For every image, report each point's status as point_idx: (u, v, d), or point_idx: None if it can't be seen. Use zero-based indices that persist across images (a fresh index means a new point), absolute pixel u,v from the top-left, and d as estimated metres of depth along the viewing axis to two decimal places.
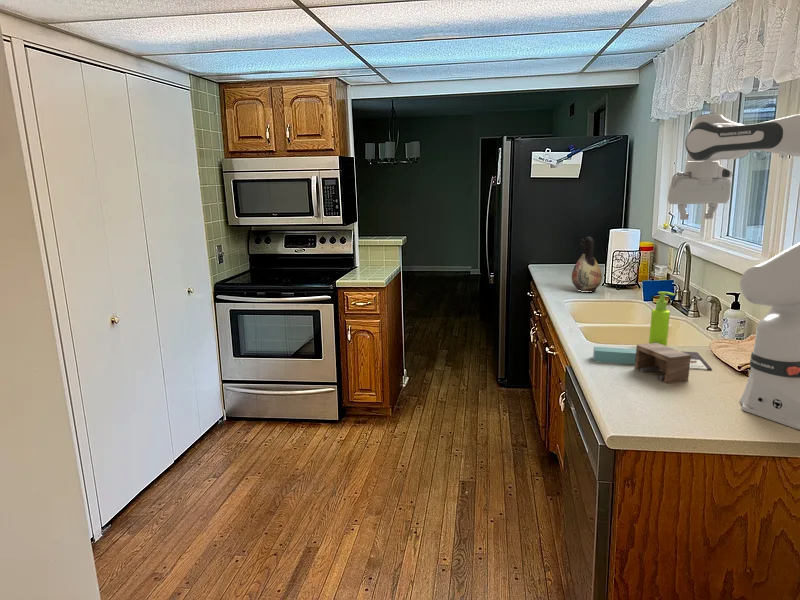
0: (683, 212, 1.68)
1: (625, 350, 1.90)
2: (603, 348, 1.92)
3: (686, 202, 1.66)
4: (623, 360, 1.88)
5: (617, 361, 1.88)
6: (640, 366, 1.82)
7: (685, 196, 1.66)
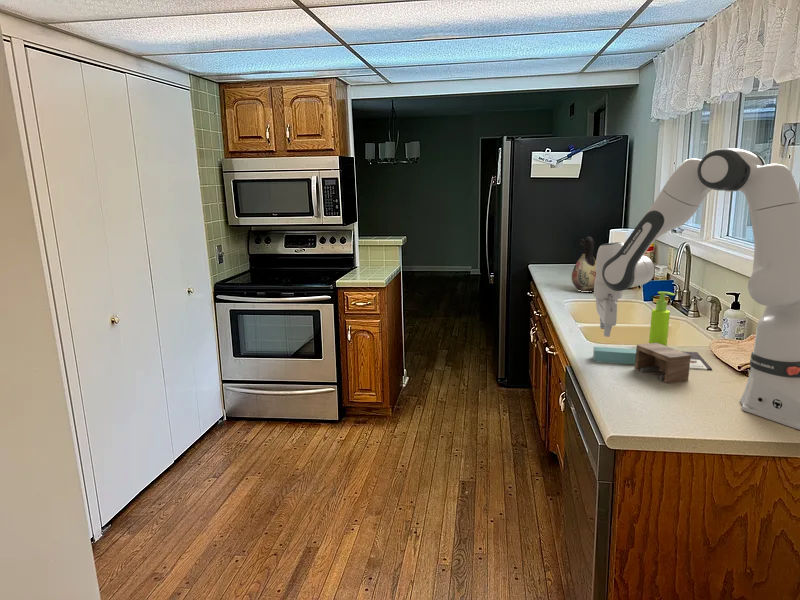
0: (609, 330, 1.84)
1: (625, 350, 1.90)
2: (603, 348, 1.92)
3: None
4: (622, 360, 1.88)
5: (617, 361, 1.88)
6: (640, 366, 1.82)
7: None
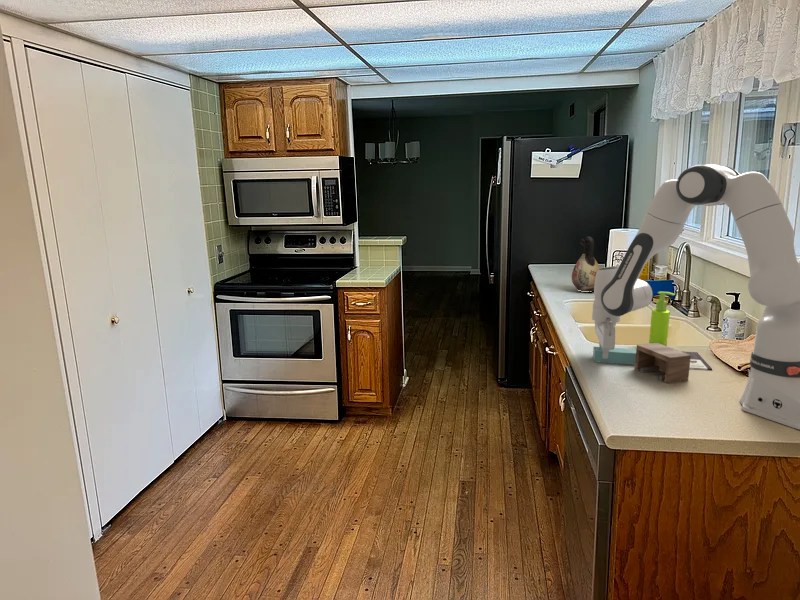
0: (607, 352, 1.87)
1: (625, 350, 1.90)
2: None
3: None
4: (622, 360, 1.88)
5: (617, 361, 1.88)
6: (640, 366, 1.82)
7: None
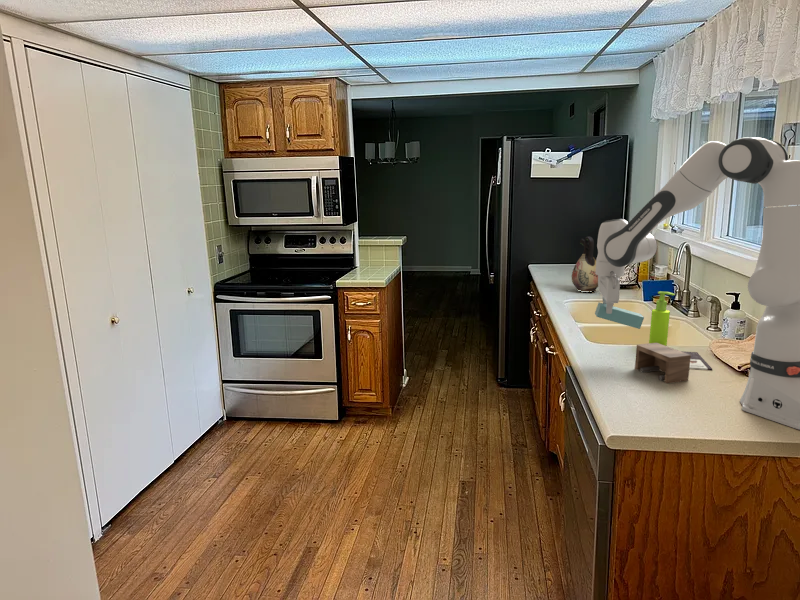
0: (611, 307, 1.83)
1: (629, 312, 1.87)
2: None
3: None
4: (625, 320, 1.85)
5: (619, 320, 1.85)
6: (640, 366, 1.82)
7: None
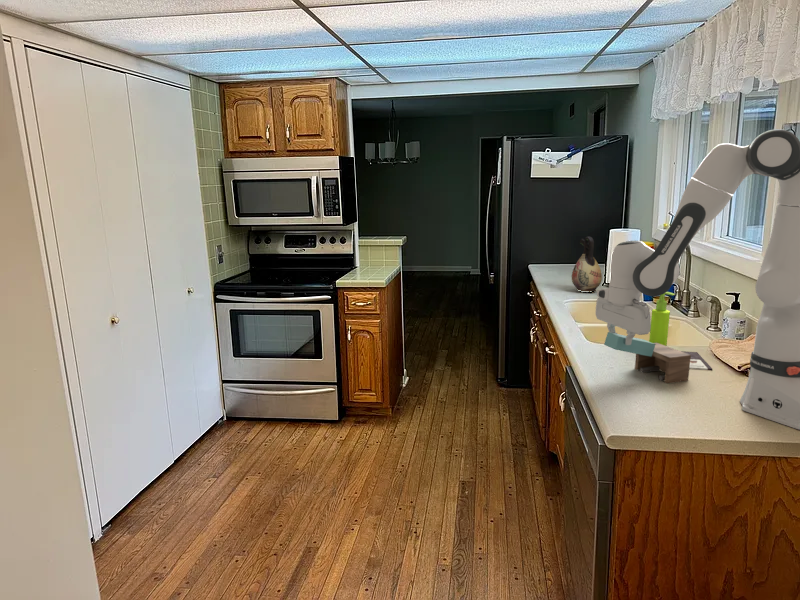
0: (632, 338, 1.66)
1: (638, 339, 1.72)
2: (619, 335, 1.71)
3: None
4: (640, 349, 1.70)
5: (635, 350, 1.69)
6: (640, 366, 1.82)
7: None
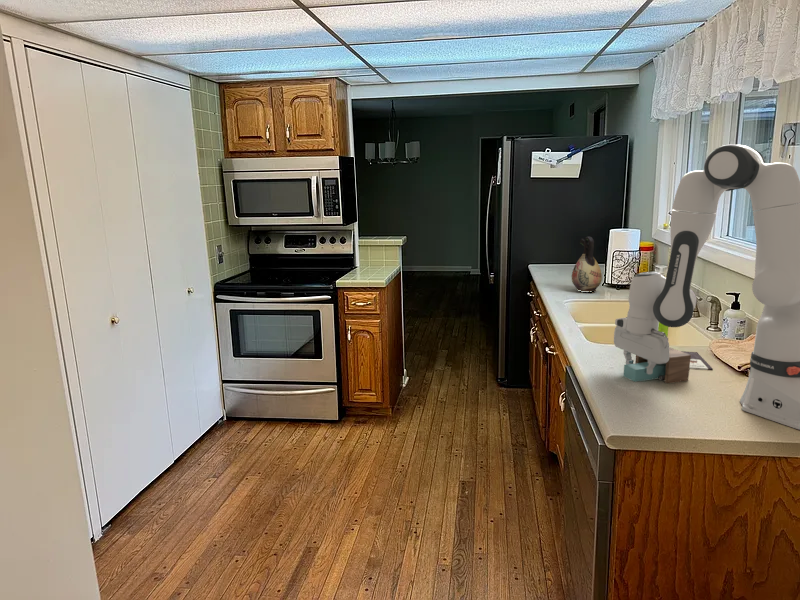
0: (653, 367, 1.69)
1: None
2: (635, 365, 1.75)
3: None
4: (659, 374, 1.74)
5: (654, 377, 1.73)
6: None
7: None
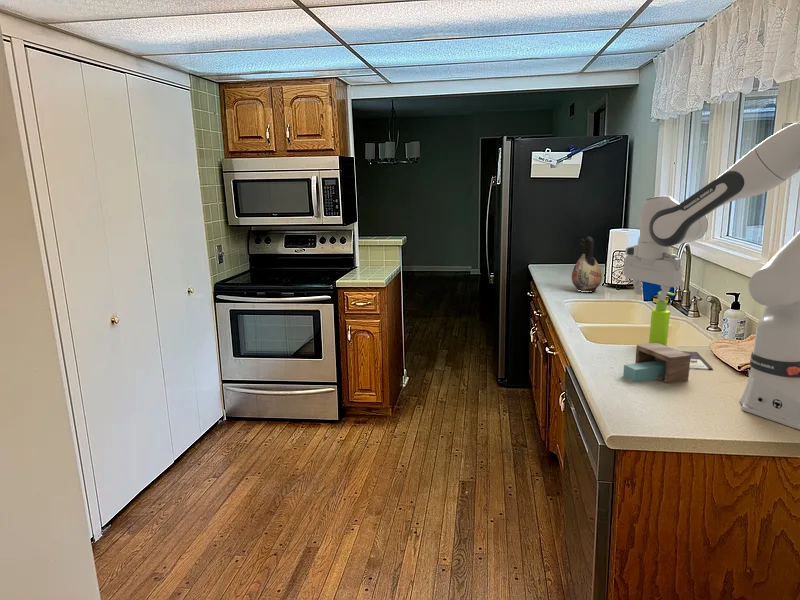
0: (666, 293, 1.67)
1: (655, 363, 1.76)
2: (635, 365, 1.75)
3: None
4: (659, 374, 1.74)
5: (654, 377, 1.73)
6: None
7: None
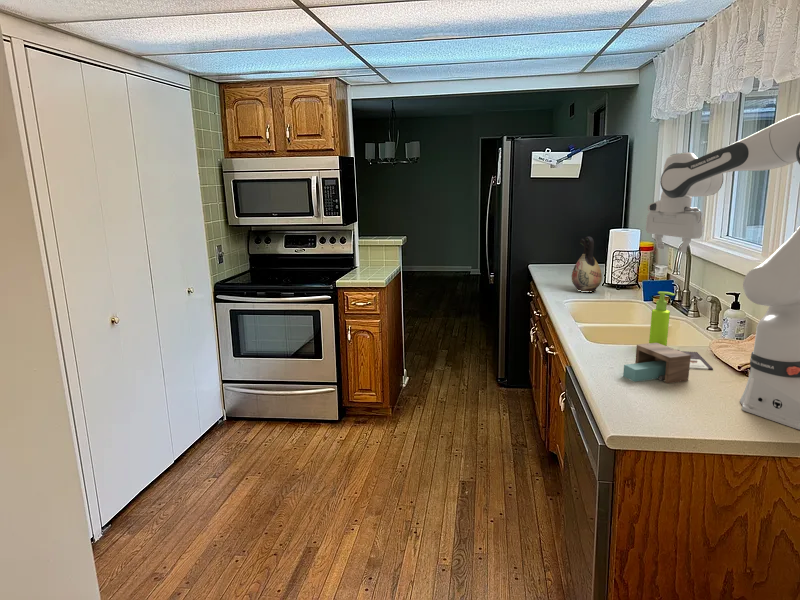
0: (687, 245, 1.76)
1: (655, 363, 1.76)
2: (635, 365, 1.75)
3: None
4: (659, 374, 1.74)
5: (654, 377, 1.73)
6: None
7: None
